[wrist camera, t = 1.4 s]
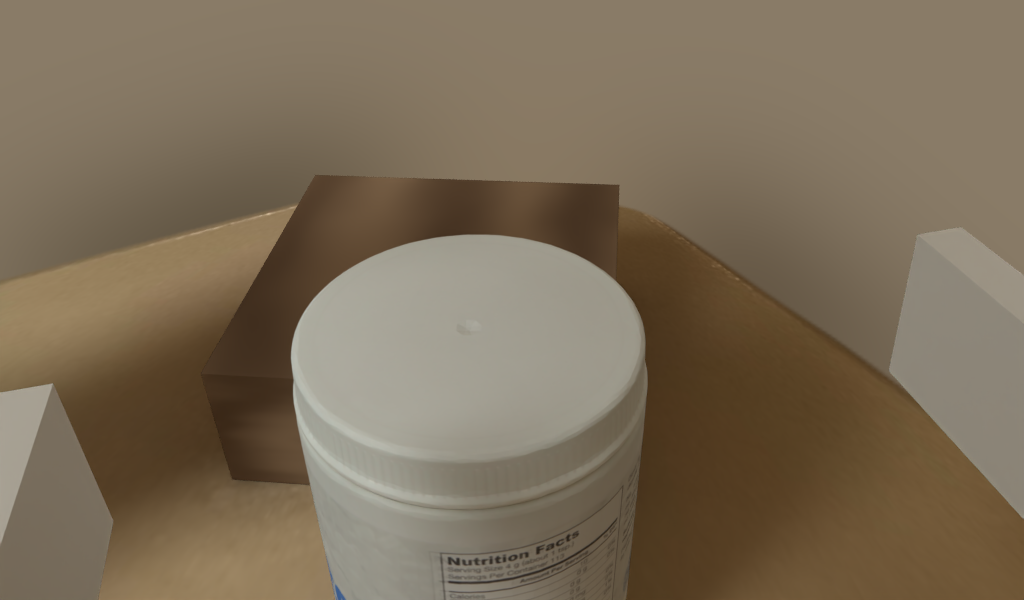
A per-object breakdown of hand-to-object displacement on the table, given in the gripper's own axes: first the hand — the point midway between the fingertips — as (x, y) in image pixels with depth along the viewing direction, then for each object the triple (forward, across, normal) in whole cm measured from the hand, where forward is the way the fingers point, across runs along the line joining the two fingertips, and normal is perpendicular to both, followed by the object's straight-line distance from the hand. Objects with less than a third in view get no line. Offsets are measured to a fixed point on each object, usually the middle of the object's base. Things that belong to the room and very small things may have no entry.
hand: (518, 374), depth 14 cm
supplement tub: (+9, 0, -20) cm, 22 cm away
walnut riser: (+25, +1, -19) cm, 31 cm away
